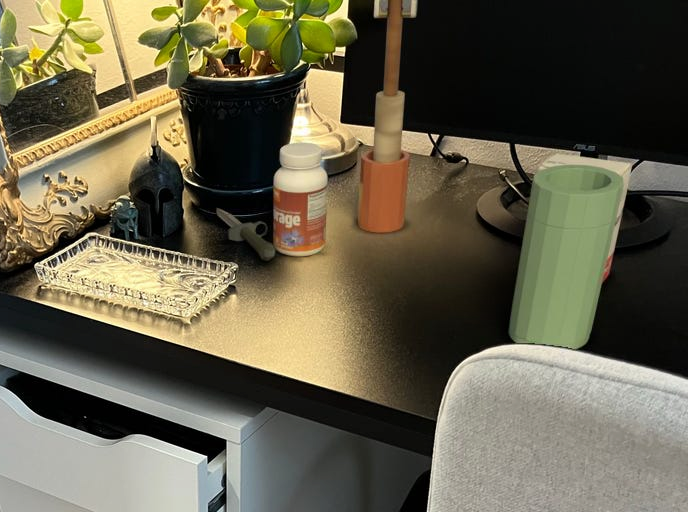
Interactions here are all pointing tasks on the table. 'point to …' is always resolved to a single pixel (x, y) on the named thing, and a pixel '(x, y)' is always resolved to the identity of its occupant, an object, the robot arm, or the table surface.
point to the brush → (390, 93)
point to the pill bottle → (300, 200)
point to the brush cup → (382, 193)
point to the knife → (248, 235)
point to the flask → (564, 254)
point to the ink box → (615, 166)
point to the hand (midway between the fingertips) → (395, 16)
